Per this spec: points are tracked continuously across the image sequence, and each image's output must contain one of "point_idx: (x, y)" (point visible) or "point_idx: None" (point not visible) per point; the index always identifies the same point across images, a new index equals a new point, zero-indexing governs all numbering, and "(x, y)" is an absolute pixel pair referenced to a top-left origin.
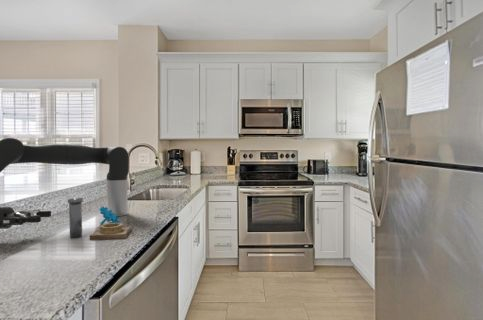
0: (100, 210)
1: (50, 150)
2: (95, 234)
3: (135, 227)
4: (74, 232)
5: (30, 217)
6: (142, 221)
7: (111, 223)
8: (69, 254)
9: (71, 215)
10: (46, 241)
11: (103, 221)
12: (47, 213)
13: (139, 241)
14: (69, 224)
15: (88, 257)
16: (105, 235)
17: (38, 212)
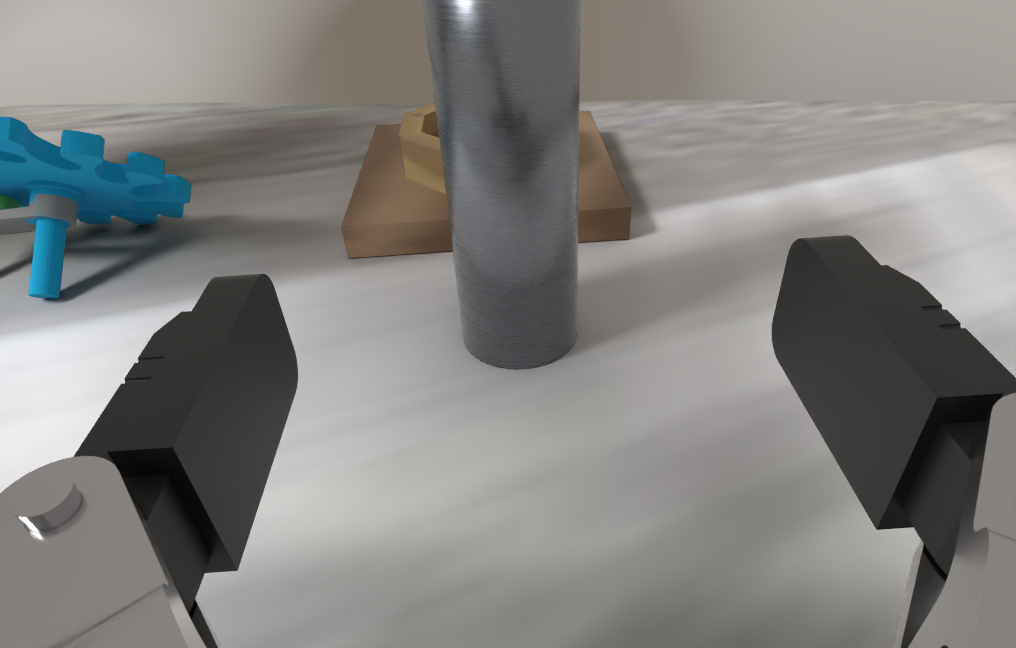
0: (23, 145)
1: None
2: (593, 192)
3: (323, 148)
4: (577, 273)
5: (955, 369)
6: (154, 150)
7: (418, 127)
8: (1007, 233)
9: (576, 97)
10: (695, 520)
11: (60, 260)
12: (263, 348)
13: (657, 101)
14: (541, 234)
15: (1000, 164)
16: (609, 161)
17: (152, 503)
